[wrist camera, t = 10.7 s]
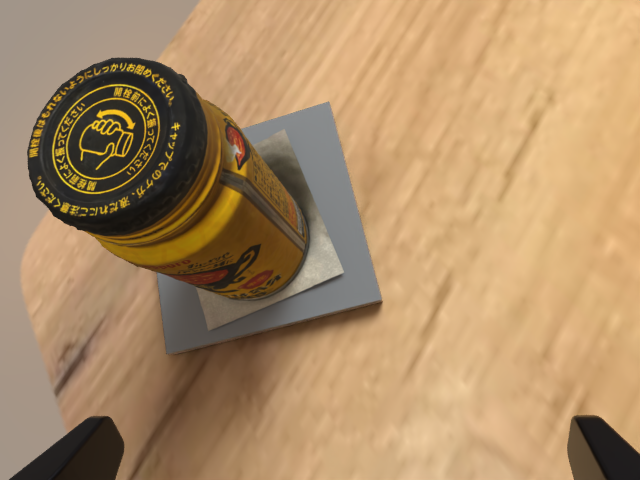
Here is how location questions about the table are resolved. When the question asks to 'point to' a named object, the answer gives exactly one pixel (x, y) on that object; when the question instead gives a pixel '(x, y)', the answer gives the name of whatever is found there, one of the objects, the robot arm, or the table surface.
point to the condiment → (179, 187)
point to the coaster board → (341, 224)
